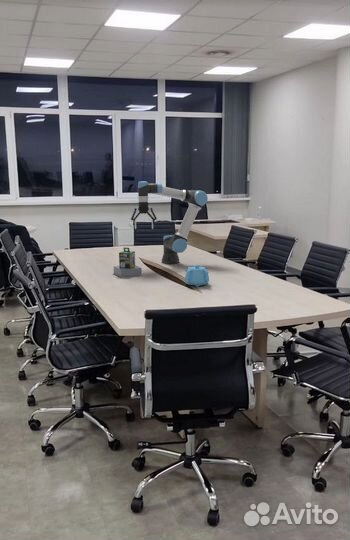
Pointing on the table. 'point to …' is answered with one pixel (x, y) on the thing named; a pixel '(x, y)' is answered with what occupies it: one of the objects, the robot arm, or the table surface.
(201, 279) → the decorative pot
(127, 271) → the grey base brick
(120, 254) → the chalk box
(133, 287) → the table surface
